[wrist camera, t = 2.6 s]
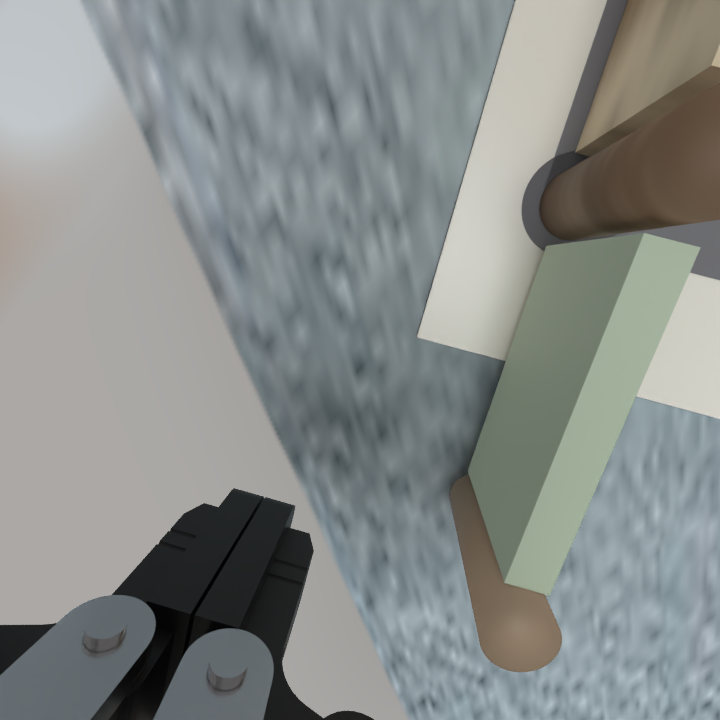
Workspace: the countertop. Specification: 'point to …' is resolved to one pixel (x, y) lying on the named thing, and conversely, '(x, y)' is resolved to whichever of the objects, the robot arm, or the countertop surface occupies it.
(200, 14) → the countertop surface
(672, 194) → the fence fixed
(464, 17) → the countertop surface
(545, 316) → the fence gate
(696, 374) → the card
